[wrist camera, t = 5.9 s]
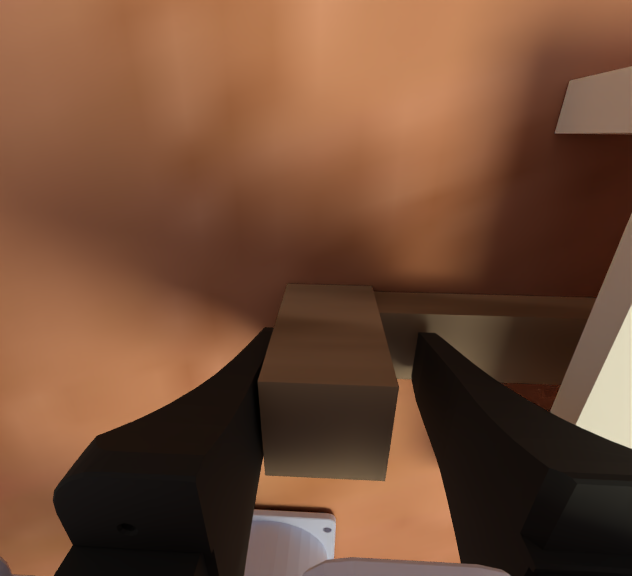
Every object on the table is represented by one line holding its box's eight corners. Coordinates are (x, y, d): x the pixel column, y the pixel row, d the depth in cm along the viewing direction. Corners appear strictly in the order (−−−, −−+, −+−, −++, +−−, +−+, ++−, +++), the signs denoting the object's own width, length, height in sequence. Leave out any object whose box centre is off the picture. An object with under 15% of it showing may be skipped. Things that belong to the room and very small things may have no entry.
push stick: (679, 366, 15) (887, 505, 9) (289, 353, 15) (265, 475, 10) (721, 295, 13) (999, 409, 8) (287, 283, 14) (257, 381, 8)
